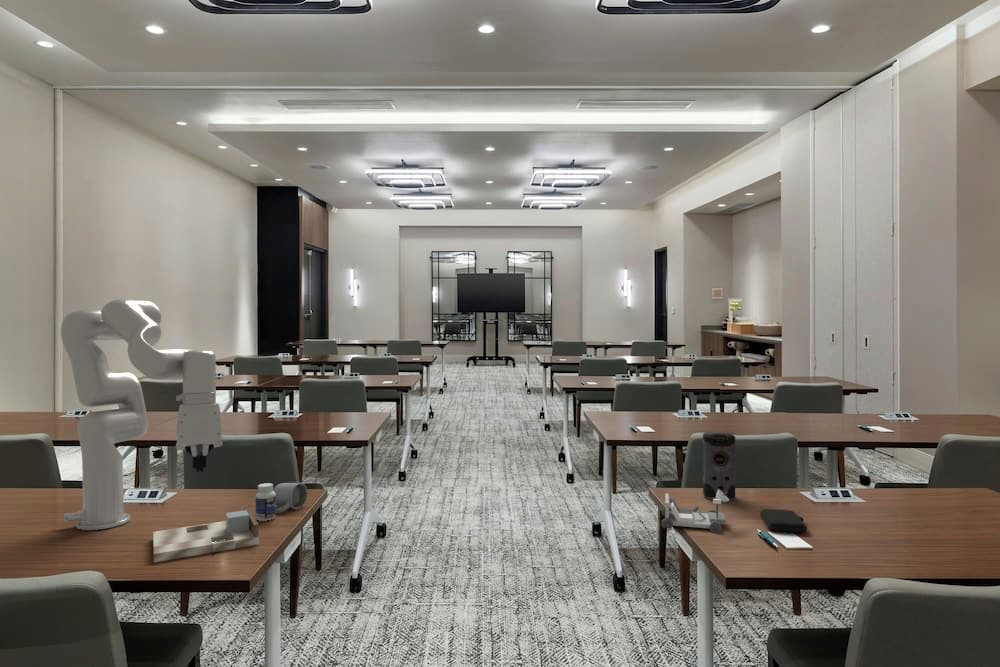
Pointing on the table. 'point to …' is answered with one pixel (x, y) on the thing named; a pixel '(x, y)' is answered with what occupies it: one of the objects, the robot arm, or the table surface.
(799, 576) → the table surface
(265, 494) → the pill bottle
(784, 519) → the carrying case or bag
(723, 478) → the electronic device
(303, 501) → the ceramic mug
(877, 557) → the table surface
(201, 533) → the board
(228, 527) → the block
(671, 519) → the toy car
